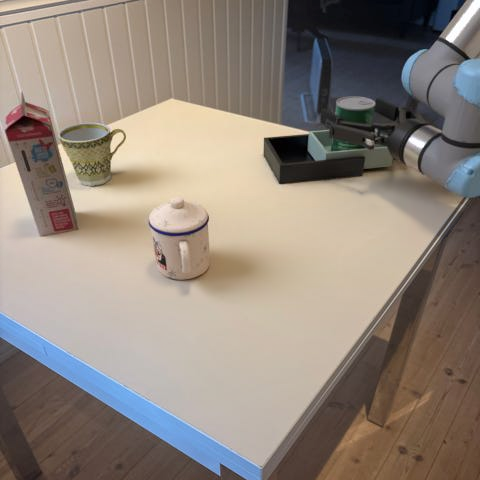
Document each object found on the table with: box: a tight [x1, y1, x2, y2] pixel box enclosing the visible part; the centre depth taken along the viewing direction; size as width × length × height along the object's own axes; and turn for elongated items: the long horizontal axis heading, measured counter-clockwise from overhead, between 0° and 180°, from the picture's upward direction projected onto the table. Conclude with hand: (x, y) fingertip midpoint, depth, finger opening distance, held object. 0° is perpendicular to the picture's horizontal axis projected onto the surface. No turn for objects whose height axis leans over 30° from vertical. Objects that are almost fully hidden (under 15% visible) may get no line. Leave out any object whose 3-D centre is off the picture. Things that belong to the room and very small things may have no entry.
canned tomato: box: [331, 95, 376, 152], centre depth 103 cm, size 8×8×11 cm
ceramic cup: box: [57, 122, 127, 187], centre depth 100 cm, size 13×10×10 cm
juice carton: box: [4, 91, 79, 237], centre depth 82 cm, size 7×7×22 cm
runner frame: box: [263, 133, 365, 185], centre depth 105 cm, size 18×15×4 cm
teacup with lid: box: [148, 196, 211, 281], centre depth 74 cm, size 12×9×12 cm
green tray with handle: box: [308, 92, 420, 170], centre depth 103 cm, size 21×12×15 cm, turn 101°
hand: (349, 109), depth 102 cm, fingers open, 13 cm apart
